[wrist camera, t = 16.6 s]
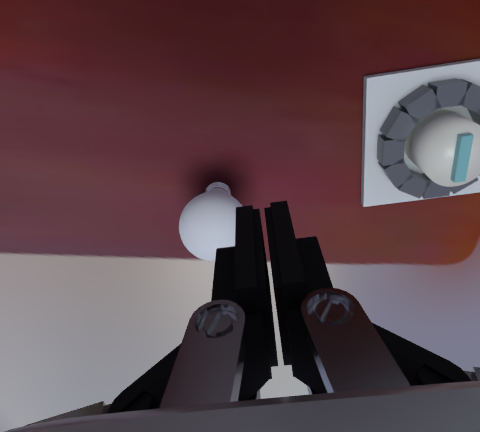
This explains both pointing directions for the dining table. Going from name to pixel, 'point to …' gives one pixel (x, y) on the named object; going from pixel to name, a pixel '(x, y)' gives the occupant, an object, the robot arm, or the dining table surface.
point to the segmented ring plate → (411, 127)
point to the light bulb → (209, 221)
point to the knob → (445, 148)
